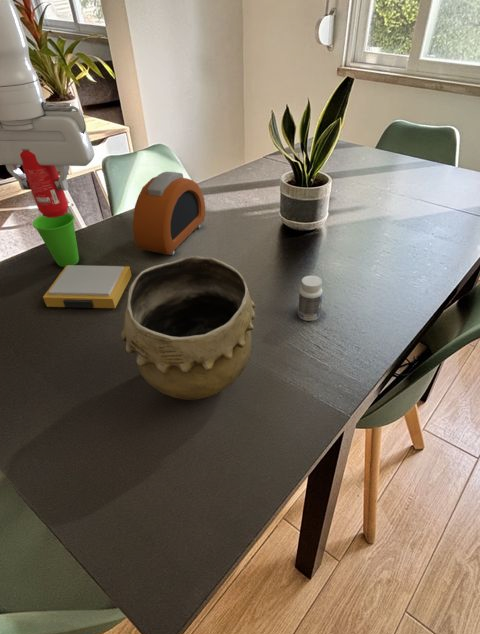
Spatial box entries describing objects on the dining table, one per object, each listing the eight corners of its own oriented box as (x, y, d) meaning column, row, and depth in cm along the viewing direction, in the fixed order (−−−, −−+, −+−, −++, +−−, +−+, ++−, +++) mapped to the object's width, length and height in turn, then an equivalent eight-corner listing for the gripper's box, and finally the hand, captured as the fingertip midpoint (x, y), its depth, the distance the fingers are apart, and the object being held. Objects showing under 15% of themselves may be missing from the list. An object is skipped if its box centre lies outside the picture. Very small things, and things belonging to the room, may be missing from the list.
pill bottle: (322, 320, 88) (326, 286, 82) (300, 322, 88) (302, 288, 82) (317, 306, 92) (320, 273, 86) (295, 309, 91) (297, 275, 85)
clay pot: (274, 411, 70) (276, 315, 57) (143, 442, 66) (111, 345, 52) (243, 333, 85) (238, 242, 72) (134, 354, 81) (107, 261, 67)
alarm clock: (168, 262, 105) (157, 196, 94) (136, 256, 107) (121, 191, 96) (208, 222, 122) (202, 161, 110) (179, 217, 124) (171, 157, 112)
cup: (92, 264, 105) (79, 222, 97) (54, 275, 101) (37, 232, 94) (81, 249, 110) (67, 208, 103) (44, 259, 107) (28, 217, 99)
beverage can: (34, 216, 79) (7, 147, 71) (54, 205, 83) (30, 138, 75) (56, 220, 78) (32, 151, 70) (75, 209, 81) (54, 142, 73)
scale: (45, 308, 91) (40, 296, 89) (69, 274, 102) (65, 262, 99) (114, 310, 91) (110, 298, 89) (131, 275, 101) (129, 264, 99)
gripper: (86, 98, 69) (107, 183, 79) (-36, 96, 70) (-1, 181, 79) (72, 108, 65) (96, 197, 74) (-59, 106, 65) (-19, 194, 75)
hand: (45, 189), depth 77 cm, fingers closed on beverage can, 5 cm apart
